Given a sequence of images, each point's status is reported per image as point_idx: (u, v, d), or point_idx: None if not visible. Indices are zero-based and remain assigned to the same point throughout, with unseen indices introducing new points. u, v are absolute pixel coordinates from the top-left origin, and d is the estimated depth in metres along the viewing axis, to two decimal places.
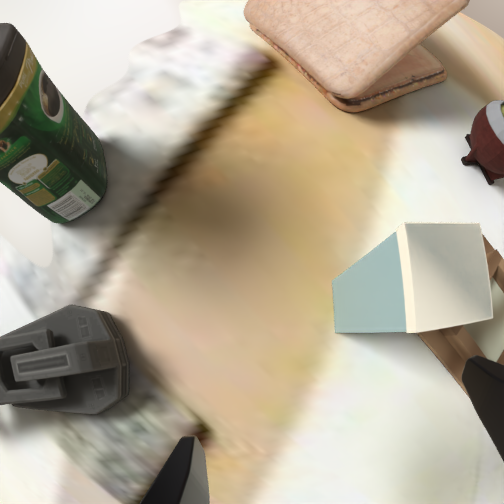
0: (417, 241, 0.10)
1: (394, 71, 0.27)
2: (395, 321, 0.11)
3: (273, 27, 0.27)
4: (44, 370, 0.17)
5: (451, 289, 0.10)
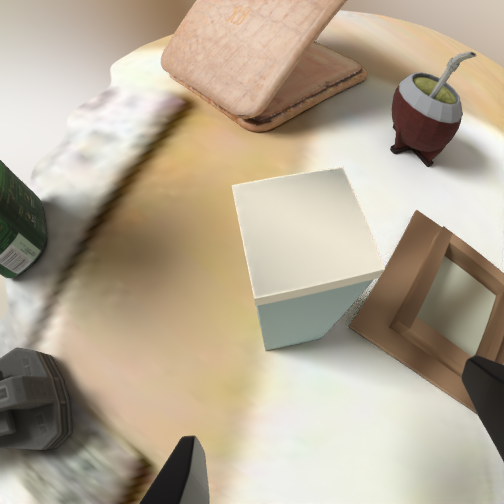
0: (249, 200, 0.10)
1: (306, 82, 0.31)
2: None
3: (184, 70, 0.31)
4: None
5: (303, 242, 0.09)
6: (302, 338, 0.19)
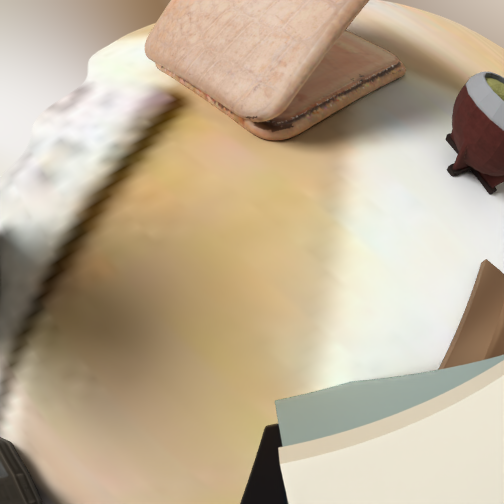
0: None
1: (335, 74, 0.22)
2: None
3: (173, 56, 0.22)
4: None
5: None
6: None
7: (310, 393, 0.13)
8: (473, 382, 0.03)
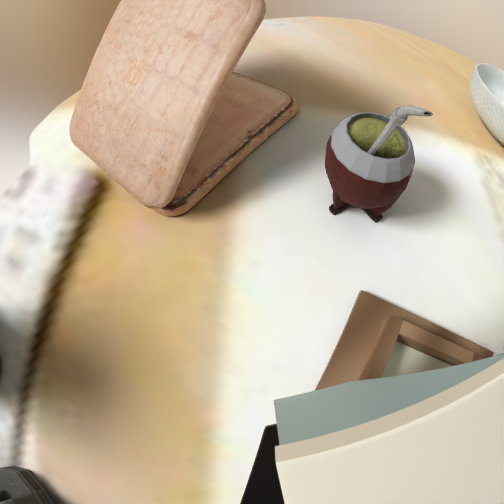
0: None
1: (225, 136, 0.29)
2: None
3: (90, 146, 0.27)
4: None
5: None
6: None
7: (309, 393, 0.13)
8: (471, 381, 0.03)
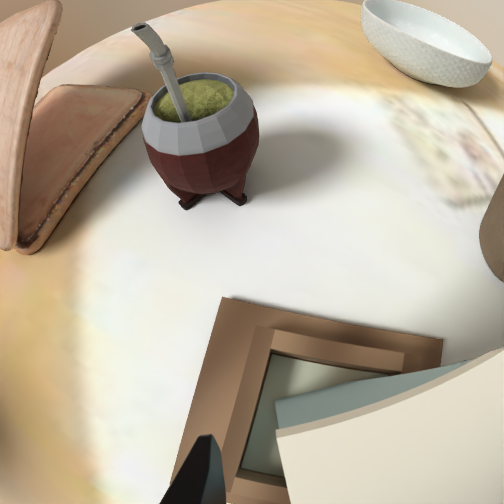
0: (323, 479, 0.03)
1: (73, 155, 0.23)
2: None
3: None
4: None
5: None
6: None
7: (307, 392, 0.14)
8: (431, 383, 0.04)
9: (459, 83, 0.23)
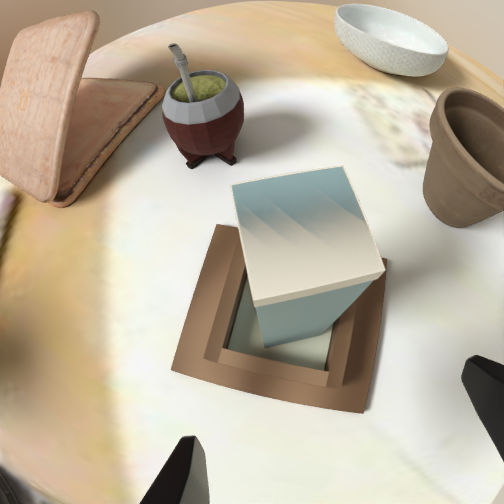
0: (247, 199, 0.10)
1: (101, 132, 0.30)
2: None
3: (4, 169, 0.27)
4: None
5: (302, 243, 0.09)
6: (301, 336, 0.19)
7: None
8: None
9: (415, 72, 0.29)
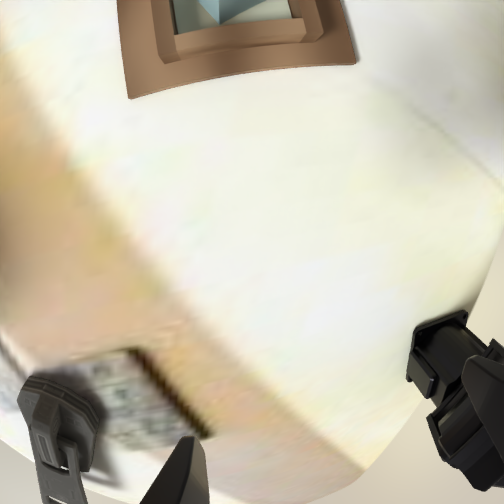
0: None
1: None
2: None
3: None
4: (48, 450, 0.19)
5: None
6: None
7: None
8: None
9: None
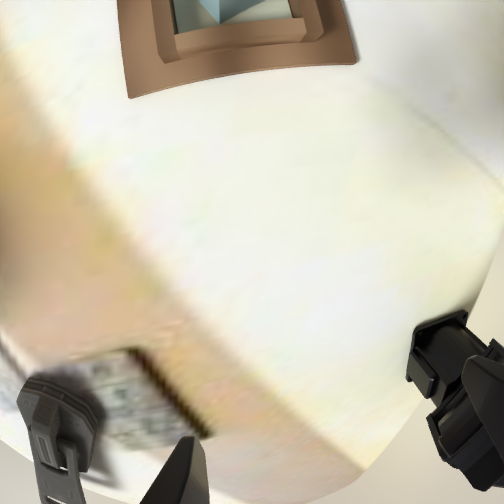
0: None
1: None
2: None
3: None
4: (48, 451, 0.19)
5: None
6: None
7: None
8: None
9: None
